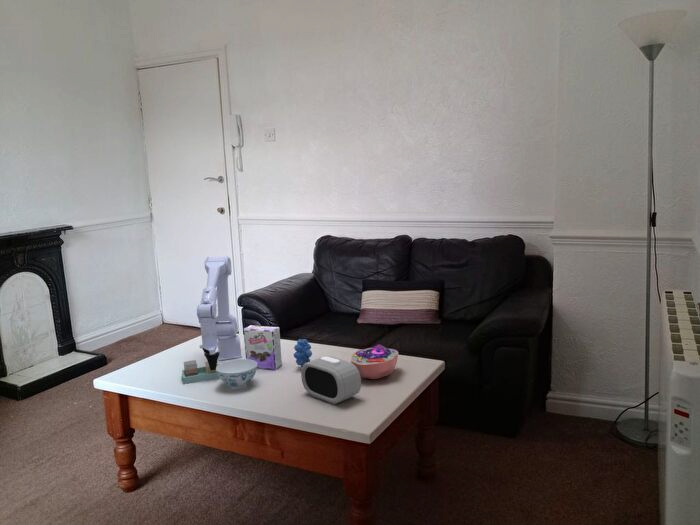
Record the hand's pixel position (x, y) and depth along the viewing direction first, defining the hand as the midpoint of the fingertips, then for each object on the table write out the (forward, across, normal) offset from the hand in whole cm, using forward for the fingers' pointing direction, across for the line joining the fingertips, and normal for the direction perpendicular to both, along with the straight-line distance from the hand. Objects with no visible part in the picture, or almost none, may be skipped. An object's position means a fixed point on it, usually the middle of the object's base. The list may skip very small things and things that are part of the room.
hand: (212, 366), depth 226 cm
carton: (+3, 0, 0) cm, 3 cm away
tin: (+3, 0, -8) cm, 9 cm away
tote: (+3, 0, -4) cm, 5 cm away
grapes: (+4, +9, +36) cm, 37 cm away
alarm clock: (+4, +42, +36) cm, 55 cm away
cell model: (+4, +31, +56) cm, 65 cm away
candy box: (+4, 0, +20) cm, 21 cm away
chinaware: (+4, +16, +8) cm, 18 cm away
